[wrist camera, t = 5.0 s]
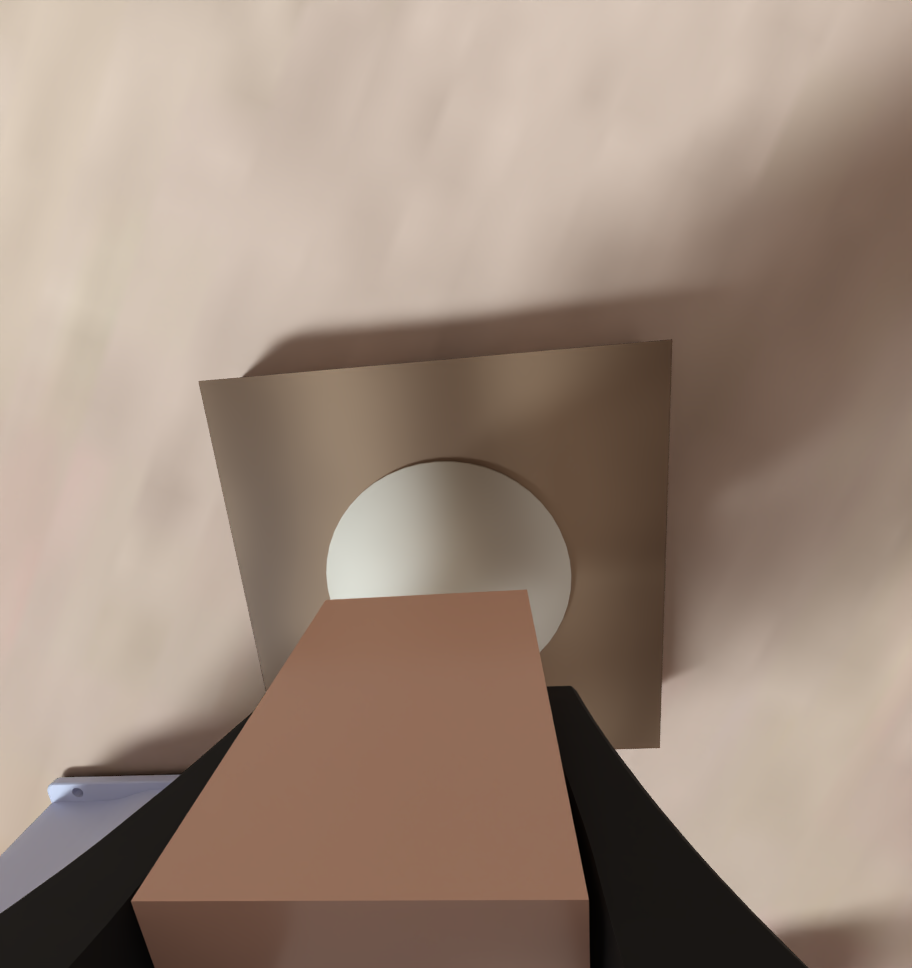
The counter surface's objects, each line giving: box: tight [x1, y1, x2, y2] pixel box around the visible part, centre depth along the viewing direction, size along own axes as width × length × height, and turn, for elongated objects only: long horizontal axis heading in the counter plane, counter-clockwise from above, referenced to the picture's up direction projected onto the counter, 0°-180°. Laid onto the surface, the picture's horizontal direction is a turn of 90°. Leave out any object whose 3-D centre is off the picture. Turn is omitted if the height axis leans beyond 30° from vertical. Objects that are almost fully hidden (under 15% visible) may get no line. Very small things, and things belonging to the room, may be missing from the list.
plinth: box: [199, 339, 672, 749], centre depth 16 cm, size 14×14×3 cm
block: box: [131, 590, 590, 968], centre depth 8 cm, size 4×4×6 cm
